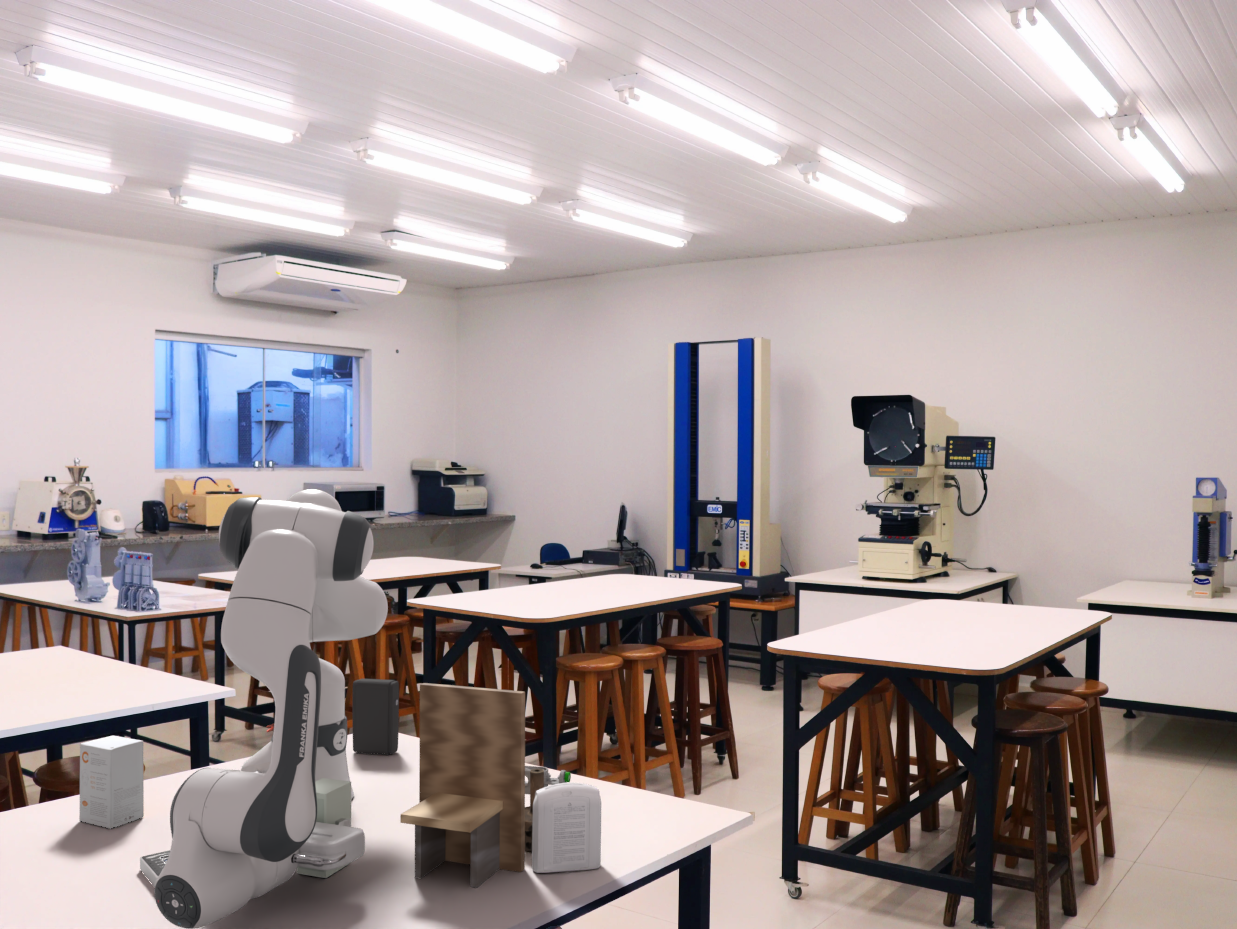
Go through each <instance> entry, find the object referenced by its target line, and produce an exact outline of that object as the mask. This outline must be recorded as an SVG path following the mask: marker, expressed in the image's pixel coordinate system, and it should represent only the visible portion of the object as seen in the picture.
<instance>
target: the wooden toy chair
mask: <svg viewBox="0 0 1237 929" xmlns="http://www.w3.org/2000/svg"><path fill="white" fill-rule="evenodd" d="M525 766H526V691H522V690H511V689H498V688H486V687H476V686H474V687H473V686H464V685H453V684H452V685H451V684H442V683H441V684H439V683H430V682H429V683H428V682H423V683H420V684H419V774H418V775H419V778H418V779H419V784H418V785H419V791H418V793H419V794H418V795H419V796H418V797H419V799H418V800H419V802H418V803H416V804H415V805H413V806H411V807H410V808H408V809H407V810H405V811H403V812H402V813H400V820H399V821H400V824H405V825H407V824H409V825H413V826H414V878H416V879H423V878H424V877H425V876H426V875H428V874H429V873H431V872H432V871H433V870H434V869H436V868H437V867H439V866H440V865H441V864H443V863H444V862H451V863H452V862H453V863H459V864H465V865H470V887H471V888H475V889H476V888H478V887H480V886H481V885H482V884H483V883H484V882H486V881H487V880H488V879H489V878H491V876H493V875H494V874H495V873H497V871H499V870H504V871H510V872H517V873H522V872H523V871H524V870H525V869H526V867H525V865H526V864H525V862H526V861H525V860H526V858H525V857H526V856H525V855H526V853H525V852H526V851H525V807H526V794H525V781H526V776H525Z"/></svg>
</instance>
